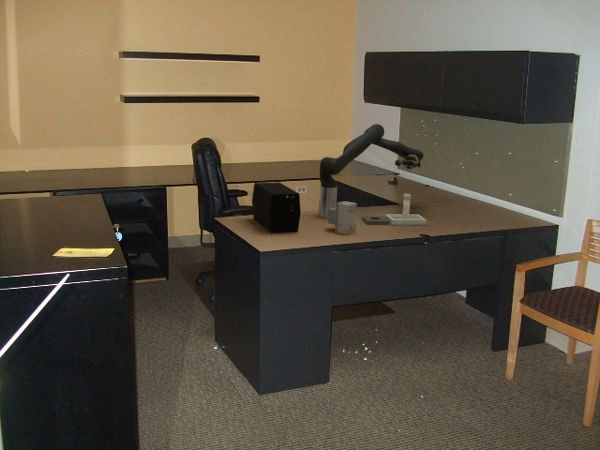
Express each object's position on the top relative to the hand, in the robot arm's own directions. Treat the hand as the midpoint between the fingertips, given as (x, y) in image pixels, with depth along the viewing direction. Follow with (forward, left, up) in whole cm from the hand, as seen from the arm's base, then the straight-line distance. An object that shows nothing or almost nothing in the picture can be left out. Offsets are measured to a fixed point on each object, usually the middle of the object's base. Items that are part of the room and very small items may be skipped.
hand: (406, 165), depth 371 cm
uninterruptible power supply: (-75, -19, -30) cm, 83 cm away
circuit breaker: (-43, -30, -30) cm, 61 cm away
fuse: (-2, -12, -29) cm, 32 cm away
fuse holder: (-19, -11, -30) cm, 37 cm away
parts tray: (-2, -12, -30) cm, 33 cm away
